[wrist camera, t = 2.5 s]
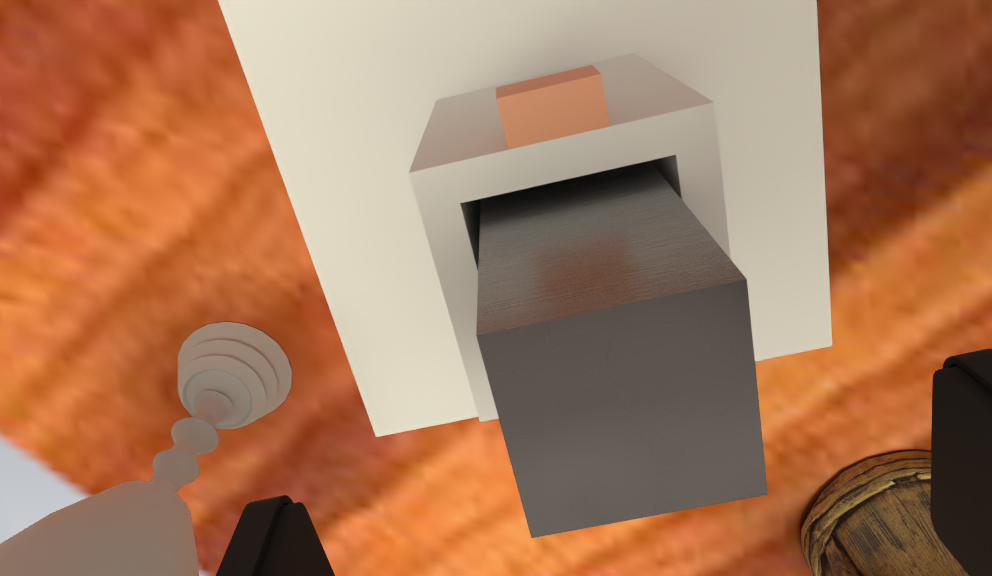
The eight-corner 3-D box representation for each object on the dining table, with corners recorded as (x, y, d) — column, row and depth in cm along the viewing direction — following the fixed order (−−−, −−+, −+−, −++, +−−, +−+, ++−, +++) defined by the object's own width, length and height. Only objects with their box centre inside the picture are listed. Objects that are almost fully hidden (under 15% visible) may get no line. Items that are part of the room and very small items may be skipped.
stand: (789, -197, 24) (1025, -322, 13) (817, 329, 32) (979, 509, 21) (216, -46, 25) (26, -52, 15) (380, 417, 33) (331, 624, 23)
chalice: (142, 412, 33) (-195, 849, 17) (162, 283, 31) (-216, 651, 14) (300, 451, 34) (126, 900, 18) (331, 329, 32) (162, 725, 15)
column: (603, 100, 26) (749, 275, 11) (622, 216, 28) (770, 496, 13) (481, 129, 26) (472, 334, 12) (508, 241, 28) (529, 540, 14)
